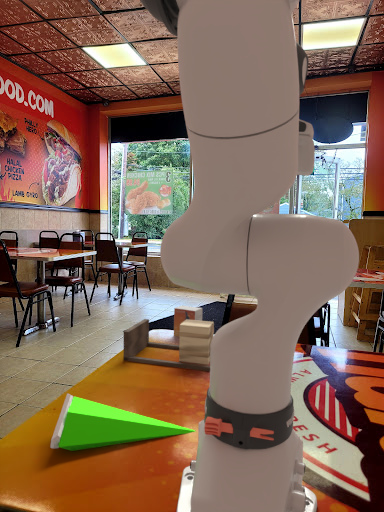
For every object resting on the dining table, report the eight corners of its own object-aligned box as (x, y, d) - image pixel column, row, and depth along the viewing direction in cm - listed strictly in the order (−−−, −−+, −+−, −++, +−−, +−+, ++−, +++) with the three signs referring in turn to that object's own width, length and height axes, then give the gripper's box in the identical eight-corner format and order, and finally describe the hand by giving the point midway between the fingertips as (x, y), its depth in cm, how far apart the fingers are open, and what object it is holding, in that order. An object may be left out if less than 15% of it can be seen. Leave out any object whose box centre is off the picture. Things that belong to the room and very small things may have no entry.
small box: (173, 339, 119) (173, 307, 118) (181, 334, 124) (181, 304, 123) (194, 343, 115) (195, 310, 114) (202, 338, 120) (202, 307, 119)
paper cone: (193, 422, 72) (66, 409, 68) (199, 401, 70) (68, 387, 66) (198, 474, 61) (48, 463, 58) (205, 451, 60) (50, 438, 56)
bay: (210, 375, 90) (210, 340, 89) (123, 364, 97) (123, 331, 96) (221, 356, 103) (221, 326, 103) (144, 347, 110) (144, 318, 109)
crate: (208, 364, 94) (208, 327, 93) (179, 361, 96) (179, 324, 95) (213, 356, 100) (214, 321, 99) (185, 353, 102) (186, 319, 101)
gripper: (222, 120, 78) (211, 182, 79) (320, 125, 71) (307, 193, 72) (229, 131, 84) (219, 189, 85) (320, 136, 77) (308, 199, 78)
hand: (260, 191), depth 78 cm, fingers open, 8 cm apart
